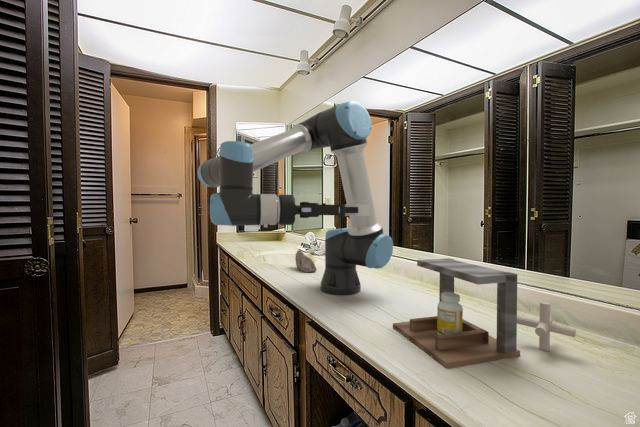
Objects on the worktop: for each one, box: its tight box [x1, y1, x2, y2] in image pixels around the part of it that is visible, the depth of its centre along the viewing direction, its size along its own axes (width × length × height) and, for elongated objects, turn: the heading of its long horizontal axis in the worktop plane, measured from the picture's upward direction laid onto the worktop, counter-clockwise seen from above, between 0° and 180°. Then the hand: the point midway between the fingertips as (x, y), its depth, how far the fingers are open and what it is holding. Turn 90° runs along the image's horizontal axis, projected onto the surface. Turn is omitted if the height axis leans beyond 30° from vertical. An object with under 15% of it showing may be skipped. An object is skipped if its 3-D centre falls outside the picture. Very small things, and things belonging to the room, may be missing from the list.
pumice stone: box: [294, 249, 317, 273], centre depth 144 cm, size 15×8×10 cm, turn 23°
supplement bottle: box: [436, 292, 464, 335], centre depth 67 cm, size 5×5×10 cm
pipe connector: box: [517, 301, 577, 352], centre depth 63 cm, size 10×10×10 cm
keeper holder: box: [392, 257, 521, 369], centre depth 67 cm, size 20×18×17 cm
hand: (358, 210), depth 77 cm, fingers open, 13 cm apart
